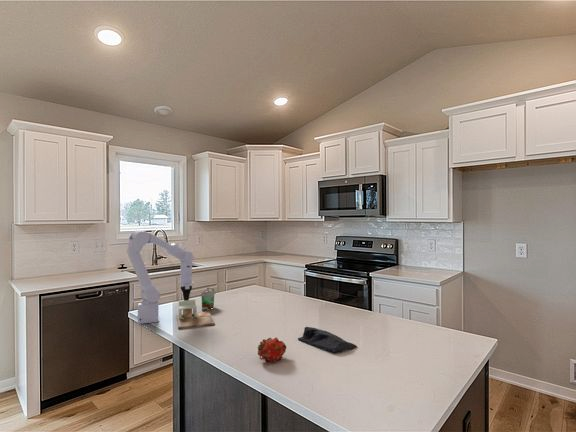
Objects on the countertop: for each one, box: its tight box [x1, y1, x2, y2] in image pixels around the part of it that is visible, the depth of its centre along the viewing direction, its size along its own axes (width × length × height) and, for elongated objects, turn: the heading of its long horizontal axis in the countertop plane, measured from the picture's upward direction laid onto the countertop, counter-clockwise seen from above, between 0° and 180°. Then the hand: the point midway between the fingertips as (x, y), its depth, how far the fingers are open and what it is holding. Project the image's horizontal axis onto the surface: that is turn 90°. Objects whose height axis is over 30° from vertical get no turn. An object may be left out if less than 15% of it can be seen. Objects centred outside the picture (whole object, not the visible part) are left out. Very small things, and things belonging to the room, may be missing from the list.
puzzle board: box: [176, 311, 216, 330], centre depth 159 cm, size 16×20×1 cm
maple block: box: [182, 309, 193, 319], centre depth 163 cm, size 4×4×5 cm
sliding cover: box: [178, 299, 198, 319], centre depth 163 cm, size 8×7×7 cm
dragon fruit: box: [257, 337, 287, 364], centre depth 116 cm, size 8×8×12 cm
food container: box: [200, 287, 216, 311], centre depth 182 cm, size 12×6×10 cm, turn 179°
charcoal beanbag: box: [297, 326, 358, 353], centre depth 131 cm, size 15×22×5 cm
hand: (186, 300), depth 171 cm, fingers closed
